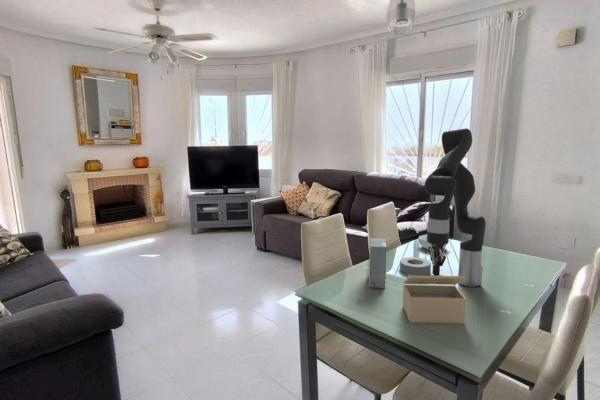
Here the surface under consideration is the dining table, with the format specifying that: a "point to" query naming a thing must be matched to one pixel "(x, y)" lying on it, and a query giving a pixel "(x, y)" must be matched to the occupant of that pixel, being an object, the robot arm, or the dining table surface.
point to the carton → (434, 304)
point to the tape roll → (415, 266)
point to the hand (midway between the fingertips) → (435, 274)
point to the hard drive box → (377, 263)
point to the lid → (434, 279)
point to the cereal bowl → (425, 242)
